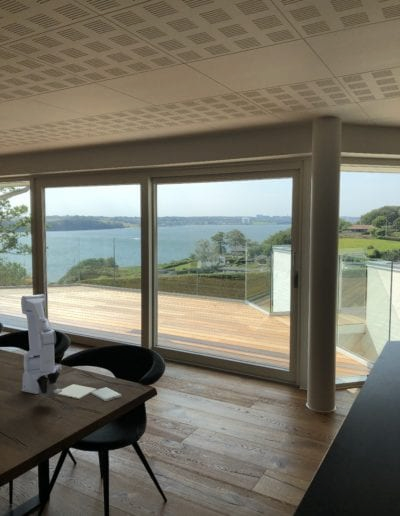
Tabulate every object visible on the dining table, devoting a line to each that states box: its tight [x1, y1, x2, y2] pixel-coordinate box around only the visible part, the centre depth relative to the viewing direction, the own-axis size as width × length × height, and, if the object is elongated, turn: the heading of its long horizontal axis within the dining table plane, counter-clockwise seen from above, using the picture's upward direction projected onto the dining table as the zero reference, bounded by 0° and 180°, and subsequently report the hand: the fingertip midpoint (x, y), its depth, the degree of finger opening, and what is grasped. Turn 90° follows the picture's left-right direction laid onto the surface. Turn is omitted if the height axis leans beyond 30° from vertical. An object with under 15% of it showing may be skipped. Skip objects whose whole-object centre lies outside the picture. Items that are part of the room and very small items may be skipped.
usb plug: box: [37, 381, 63, 398], centre depth 180 cm, size 11×4×5 cm, turn 65°
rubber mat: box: [57, 383, 98, 400], centre depth 195 cm, size 14×12×1 cm
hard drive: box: [90, 386, 123, 402], centre depth 192 cm, size 2×8×12 cm
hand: (47, 391), depth 181 cm, fingers closed on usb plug, 4 cm apart
